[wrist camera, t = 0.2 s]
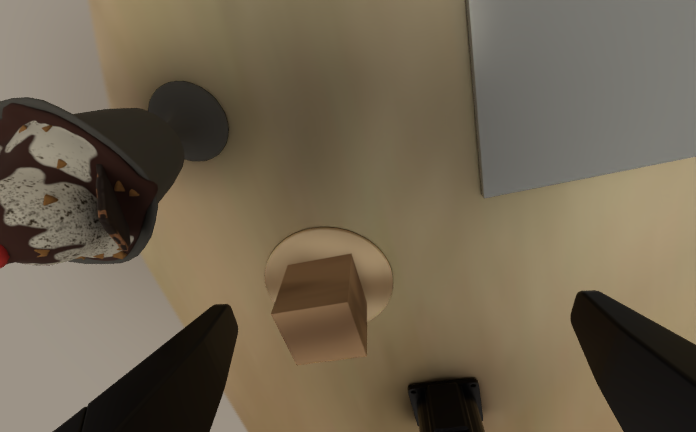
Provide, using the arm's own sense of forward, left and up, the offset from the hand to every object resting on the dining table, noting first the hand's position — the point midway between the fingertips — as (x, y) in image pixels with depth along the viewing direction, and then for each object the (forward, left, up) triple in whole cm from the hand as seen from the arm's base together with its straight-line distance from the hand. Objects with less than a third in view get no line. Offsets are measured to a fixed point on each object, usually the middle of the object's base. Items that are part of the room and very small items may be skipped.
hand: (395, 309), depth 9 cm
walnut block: (-10, +6, -14) cm, 18 cm away
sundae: (+4, +11, -14) cm, 19 cm away
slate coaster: (+1, -12, -14) cm, 18 cm away
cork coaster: (-10, +6, -14) cm, 18 cm away
